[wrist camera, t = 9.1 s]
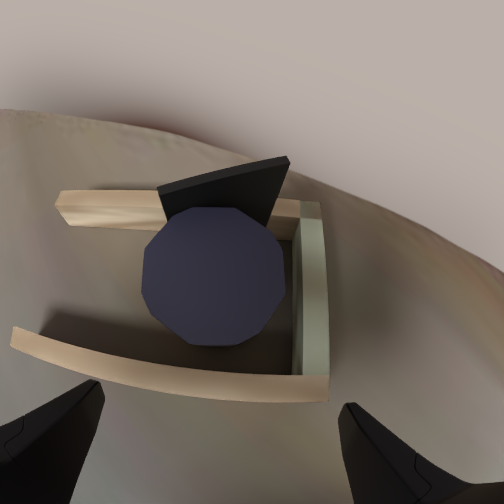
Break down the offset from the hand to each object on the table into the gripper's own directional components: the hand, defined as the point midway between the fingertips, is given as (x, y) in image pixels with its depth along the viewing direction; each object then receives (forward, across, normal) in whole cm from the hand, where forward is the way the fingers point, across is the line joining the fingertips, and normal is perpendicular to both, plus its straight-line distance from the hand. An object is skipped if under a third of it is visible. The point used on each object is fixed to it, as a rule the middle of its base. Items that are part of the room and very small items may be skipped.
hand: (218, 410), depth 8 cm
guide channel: (+10, +5, 0) cm, 11 cm away
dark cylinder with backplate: (+10, 0, +1) cm, 10 cm away
